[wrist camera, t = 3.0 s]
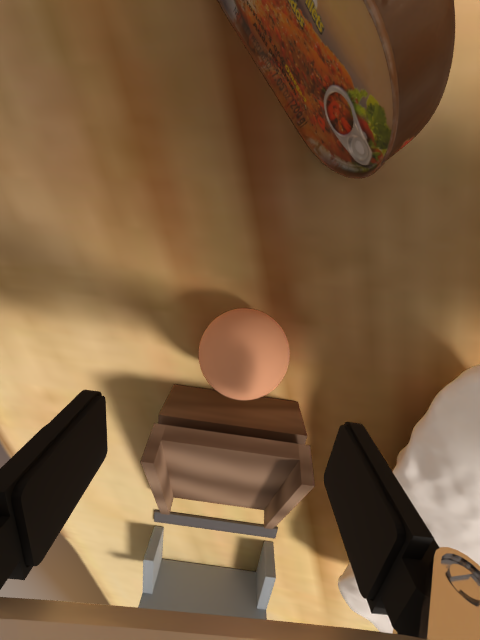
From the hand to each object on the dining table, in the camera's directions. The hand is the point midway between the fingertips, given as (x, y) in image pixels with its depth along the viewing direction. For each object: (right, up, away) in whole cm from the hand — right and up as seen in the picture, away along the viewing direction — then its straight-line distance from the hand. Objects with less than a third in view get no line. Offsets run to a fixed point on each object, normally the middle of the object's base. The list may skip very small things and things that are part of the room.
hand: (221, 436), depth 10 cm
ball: (+1, +2, +7) cm, 7 cm away
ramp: (0, -7, +13) cm, 15 cm away
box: (-2, -20, +18) cm, 27 cm away
